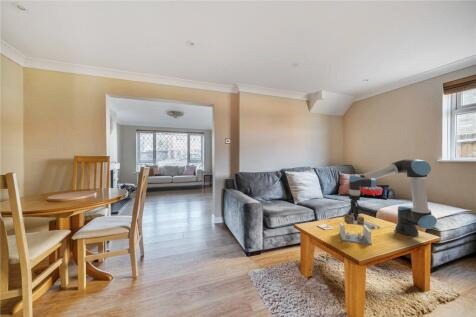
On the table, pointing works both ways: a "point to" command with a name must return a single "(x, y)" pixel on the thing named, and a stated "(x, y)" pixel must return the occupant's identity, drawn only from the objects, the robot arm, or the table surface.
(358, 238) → the peg frame
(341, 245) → the table surface
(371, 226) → the crown molding
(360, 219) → the shelf block
